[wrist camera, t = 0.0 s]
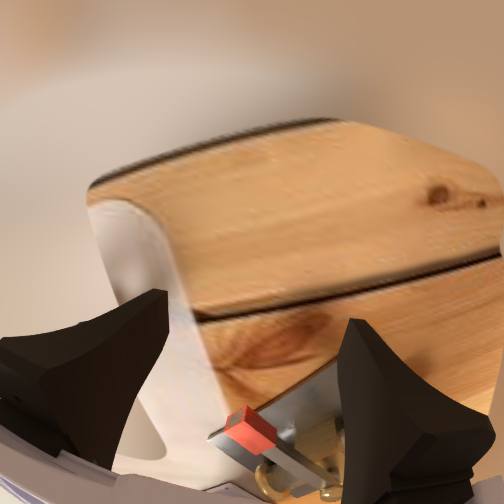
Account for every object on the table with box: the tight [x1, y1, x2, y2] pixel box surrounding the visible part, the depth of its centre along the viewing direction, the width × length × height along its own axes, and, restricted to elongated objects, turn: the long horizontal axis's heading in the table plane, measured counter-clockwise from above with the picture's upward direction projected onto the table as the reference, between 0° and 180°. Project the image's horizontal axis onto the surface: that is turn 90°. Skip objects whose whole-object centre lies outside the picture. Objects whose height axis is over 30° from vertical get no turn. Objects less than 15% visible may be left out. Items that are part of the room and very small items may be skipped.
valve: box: [208, 357, 345, 500], centre depth 23 cm, size 18×14×5 cm
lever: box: [224, 405, 343, 502], centre depth 19 cm, size 12×2×2 cm, turn 43°
